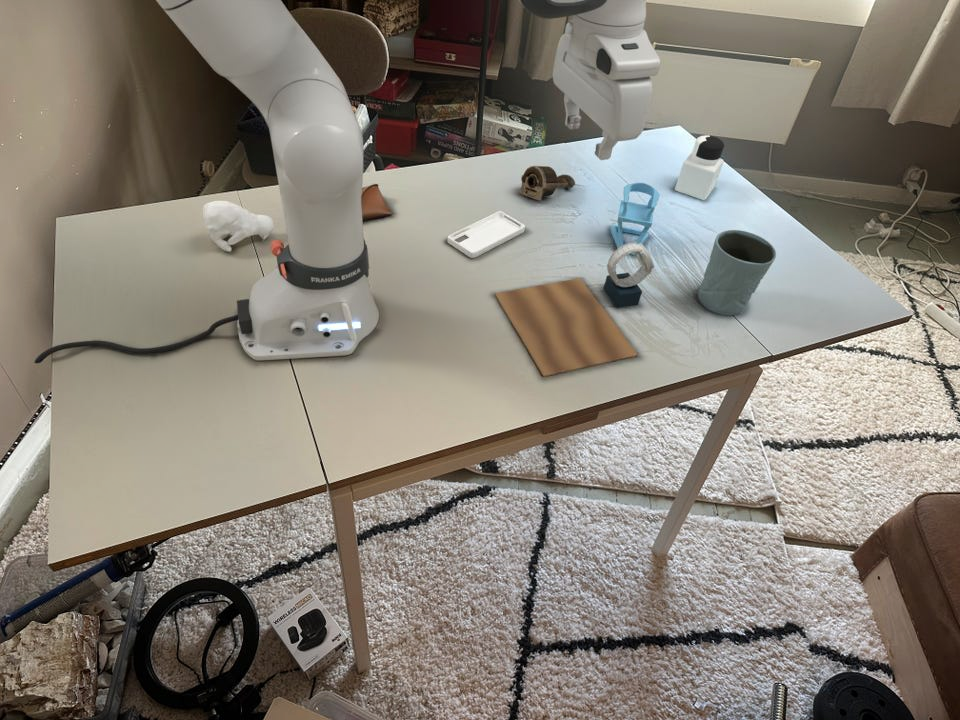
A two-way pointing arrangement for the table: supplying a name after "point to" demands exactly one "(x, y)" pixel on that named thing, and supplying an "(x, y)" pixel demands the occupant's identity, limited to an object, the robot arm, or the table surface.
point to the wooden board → (564, 327)
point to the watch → (627, 276)
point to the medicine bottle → (701, 168)
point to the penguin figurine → (233, 223)
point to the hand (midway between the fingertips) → (586, 141)
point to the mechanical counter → (543, 182)
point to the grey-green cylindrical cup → (734, 271)
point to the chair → (635, 214)
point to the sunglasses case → (373, 203)
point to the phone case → (486, 234)
